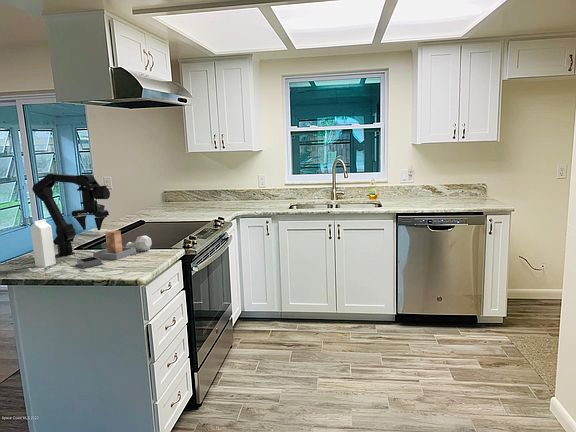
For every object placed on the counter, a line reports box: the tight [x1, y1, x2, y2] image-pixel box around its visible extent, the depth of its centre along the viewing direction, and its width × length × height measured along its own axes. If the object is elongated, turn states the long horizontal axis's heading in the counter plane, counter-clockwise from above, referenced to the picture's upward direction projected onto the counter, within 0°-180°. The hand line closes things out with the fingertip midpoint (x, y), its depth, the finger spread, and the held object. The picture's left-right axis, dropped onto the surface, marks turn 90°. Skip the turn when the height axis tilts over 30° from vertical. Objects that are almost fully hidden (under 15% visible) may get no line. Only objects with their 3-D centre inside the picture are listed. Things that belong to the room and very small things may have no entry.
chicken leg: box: [125, 235, 153, 252], centre depth 229 cm, size 8×18×8 cm, turn 57°
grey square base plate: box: [74, 256, 105, 270], centre depth 199 cm, size 10×10×3 cm
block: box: [105, 229, 123, 254], centre depth 214 cm, size 5×5×12 cm
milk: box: [30, 218, 57, 268], centre depth 200 cm, size 6×6×22 cm
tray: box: [92, 246, 137, 261], centre depth 215 cm, size 14×14×4 cm
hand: (91, 230), depth 218 cm, fingers open, 9 cm apart
